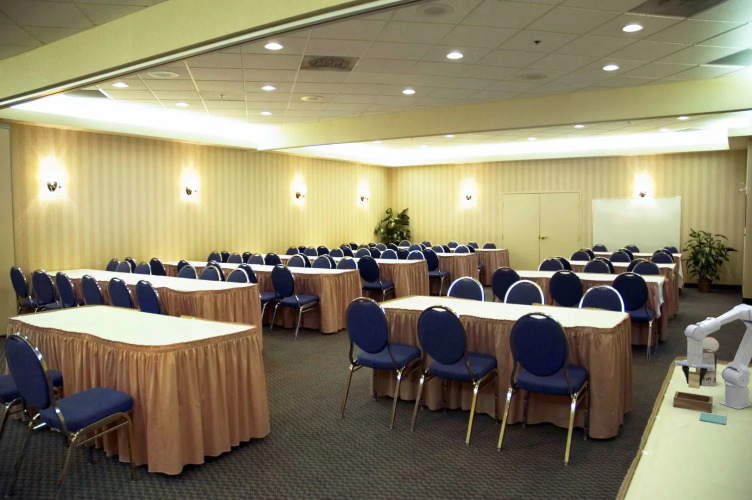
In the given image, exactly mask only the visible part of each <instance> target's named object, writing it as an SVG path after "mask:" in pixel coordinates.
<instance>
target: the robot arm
mask: <svg viewBox="0 0 752 500" xmlns="http://www.w3.org/2000/svg"><path fill="white" fill-rule="evenodd" d="M736 320H741V322H743V323H744V325H745V326H746V330H745V332H744V335H743V337H742V340H741V342H740V344H739V346H738V349H737V351H736V354H735V356H734V358H733V360H732V361H730V362H729V363H727V364H726V366H725V368H723V369H722V370H721V375H720V376H721V378H722V379H723V380H724V401H721V402H719V404H720V405H722V406H726V407H729V408H733V409H735V410H741V409H744V408H748V407H750V406H752V404H751V403H750V388H749V387H748V385H749V383H750V380H751V379H750V377H751V370H750V369H749V365H750V362H751V360H752V305H748V304H746V303H741V304H739V305H736V306H734V307H733V308H732V309H730V310H729V311H727V312H725V313H723V314H722V315H720V316H718V317H711V316H710V317H709V316H708V317H706V319H704V320H703V321H700V322H696V324H689V325H688V326H686V328H685V330H684V331H683V332H684V336H686V341H687V342H686V343H687V344H686V345H687V354H686V358H687V359H686V360H674V363H675V364H674V366H675V367H681V370H682V372H683V374H684V376H685V380H686V384H688V382H689V371H690V368H693V369H696V368H700V382H699V386H700V387H701V386H702V380H703V378H704V376H705V374H706V372H707V369H708V370H712V371H714V370H715V365H710V364H705V363H702V361H703V340H704V339H705V338H706V337H707V336H709V335H710V334H712V333H715V332H716V331H719V330H720V329H721V326H724V325H725V324H729V323H731V322H734V321H736Z"/></svg>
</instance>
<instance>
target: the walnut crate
mask: <svg viewBox="0 0 752 500" xmlns="http://www.w3.org/2000/svg"><path fill="white" fill-rule="evenodd" d="M713 397H714V396H710V395H705V394H698V393H693V392H691V393H690V392H685V391H678V390H676V391H675V393H674V395H673V402H672V403H673V404H672V405H673V408H678V409H685V410H691V411H696V412H703V413H709V414H712V411H713V403H714V402H713V400H714V398H713Z"/></svg>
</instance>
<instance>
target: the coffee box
mask: <svg viewBox="0 0 752 500" xmlns="http://www.w3.org/2000/svg"><path fill="white" fill-rule="evenodd" d="M702 363H705V364H710V365H715V370H714V371H712V370H708V369H707V372H706V374H705V376H704V378H703V380H702V385H701V386H703V387H704V386H707V387H717V365H718V364H717V363H718V353H717V352H714V351H712V350H710V349H703V361H702ZM695 372H699V373H700V368H695Z"/></svg>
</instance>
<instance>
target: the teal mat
mask: <svg viewBox="0 0 752 500" xmlns="http://www.w3.org/2000/svg"><path fill="white" fill-rule="evenodd" d="M699 421H700V422H706V423H711V424H718V425H723V426H726V425H727V416H726V415H721V414H720V415H719V414H713V413H708V412H702V411H700V415H699Z"/></svg>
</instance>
